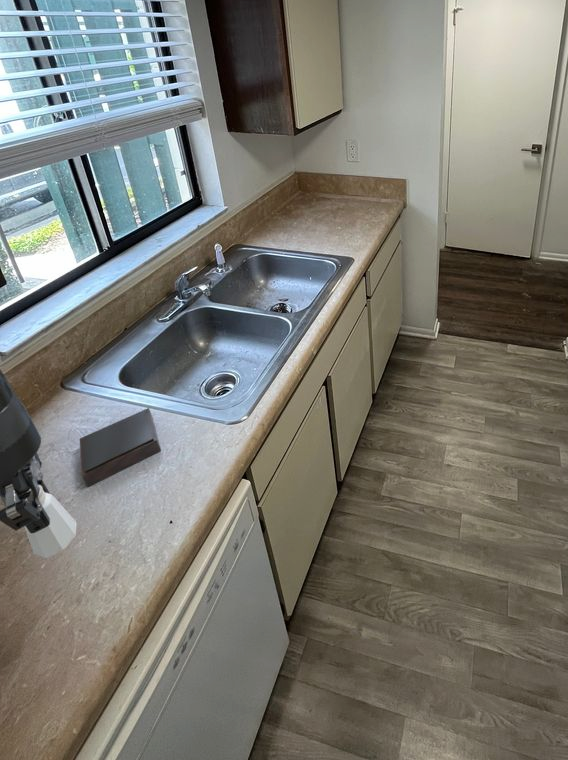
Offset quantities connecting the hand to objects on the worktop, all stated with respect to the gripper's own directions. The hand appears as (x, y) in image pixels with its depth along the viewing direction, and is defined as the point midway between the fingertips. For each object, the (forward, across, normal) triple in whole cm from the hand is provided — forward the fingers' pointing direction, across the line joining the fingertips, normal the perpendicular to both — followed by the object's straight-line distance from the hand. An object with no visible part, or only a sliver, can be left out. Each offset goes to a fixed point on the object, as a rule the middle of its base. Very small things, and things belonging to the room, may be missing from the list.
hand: (41, 514), depth 63 cm
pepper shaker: (+6, 0, 0) cm, 6 cm away
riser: (+25, -30, +7) cm, 39 cm away
